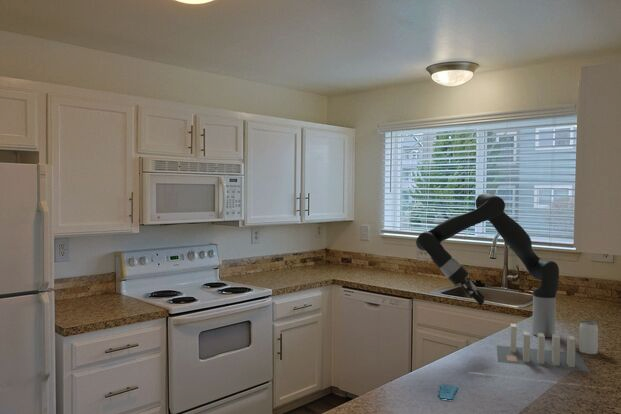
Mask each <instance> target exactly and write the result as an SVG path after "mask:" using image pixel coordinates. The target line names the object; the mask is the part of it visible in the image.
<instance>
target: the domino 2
mask: <svg viewBox="0 0 621 414" xmlns="http://www.w3.org/2000/svg"><path fill="white" fill-rule="evenodd" d="M522 334H523V335H522V348H523V361H524V362H530V349H531V333H530V332H529V331H523V333H522Z"/></svg>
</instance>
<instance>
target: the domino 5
mask: <svg viewBox="0 0 621 414" xmlns="http://www.w3.org/2000/svg"><path fill="white" fill-rule="evenodd" d="M566 352H567V364H568V366H569V367H575V353H576V338H575V336H574V335H570V334H569V335H568V334H567V336H566Z"/></svg>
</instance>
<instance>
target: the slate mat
mask: <svg viewBox="0 0 621 414" xmlns="http://www.w3.org/2000/svg"><path fill="white" fill-rule="evenodd" d="M496 354H497V363H504V364H514V365H522V366H532V367H541V368H550V369H559V370H560V369H561V370H569V371H579V372H587V373H589V372H590V371H589V369H588V367H587V366H586V364H585V362H584V360H583V358H582V357H581V355H580V353H578V352H575V367H569V366H568V364H567V351H560V364H559V365H553V363H552V350H549V349H545V358H544V364H540V363H538V360H537V348H530V362H524V361H523V347H520V346H519V347H517V346H516V352H511V351H510V345H509V346H507V345H498V344H497V345H496Z"/></svg>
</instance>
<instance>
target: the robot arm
mask: <svg viewBox="0 0 621 414" xmlns="http://www.w3.org/2000/svg"><path fill="white" fill-rule="evenodd" d="M475 207H476V209H473V210H470V211H469V212H465V213H462V214H459V215H455V216H452V217H450V218H448V219H446V220H444V221H443V222H441V223H439V224H437V225H435V227H433V228H432V229H430V230H428V231H423V232H420V234H419V235H418V236H417V238H416V240H415V244H416V248H417V249H418V250H420V251H424V252H426V253H427V254H428V255H429V256H430V258H431V261H432V262H433V263H434V264H435V265H436V267H438V268H439V269H440V271H441V272H442V273H443V274H444V276H445V277H446V278H447V279H448V280H449V281H450V282H451V283H452V284H453V285H454V286H458V285H459V284H461V289H463V290H464V291H465V292H466V294H467V295H469V296H470V297H469V298H472V299H474V300H475V301H476V302H477V303H478V304H479V305H480V306H482V305H483V304H484V303H485V300H484V299H485V296H484V295H483V294H482V293H481V292H480V291H479V289H478V287H477V286H476V285H475V283H473V282H472V281H471V280H470V278H468V276H469V272H468V271H467V270H466V269H465V267H464V266H463V265H462V264H460V262H458V260H457V259H455V258H454V257H453V256H452V255H451V254H450V253H449V252H448V251H447V250H446V249H445V247H444V246H443V245H442V242H444V241H446V240H449V239H450V238H452V237H453V236H456V235H457V234H460V233H462V232H463V231H465V230H467V229H469V228H471V227H473V226H474V227H475V226H476V225H478V224H482V223H484V222H486V221H489V222H490V224H491V225H492V226H493V228H494V229H495V230H496V232H497V233H498V234H499V236H500V238H502V240H503V241H504V242H505V243H506V244H507V246H508V247H509V248H510V249H511V250H512V252H514V253H515V255H516V256H517V257H518V258H519V260H520V261H521V262H522V264H523V265H524V266H525V269H526V270H527V272H528V273H529V274H530V276H531V277H532V278H534V279H535V280H539V281H541V283H540V286H539V287H536V288H534V289H533V290H532V324H531V327H532V328H531V333H532V335H534V336H536V337H538V333H544V336H545V338H552V334H556V312H557V310H556V303H557V302H556V301H557V300H556V299H557V292H558V289H559V280H560V279H559V278H560V268H559V266H558V264H557V262H555V261H553V260H550V259H549V260H548V259H542V258H540V257H539V256H538V255H537V254H536V253H535V252H534V251H533V247H532V246H533V245H532V244H533V243H532V240H531V239H532V238H531V237H530V235H529V234H528V233H527V231H526V230H525V229H524V228H523V227H522V225H520V224H519V223H518V222H517V221H515V220H514V219H513V218H511V217H510V216H509V215H508V214H507V213H505V209H506V202H505V201H504V199H503V198H502V197H500V196H498V195H495V194H493V193H490V192H484V193H481V194H479V195H478V196H477V197H476V199H475Z"/></svg>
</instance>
